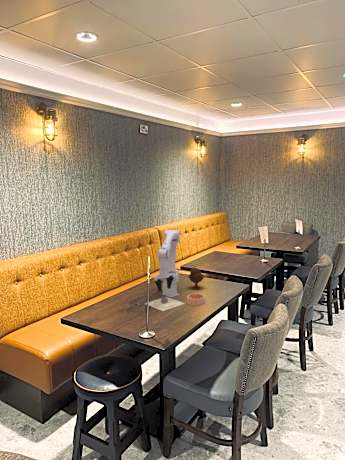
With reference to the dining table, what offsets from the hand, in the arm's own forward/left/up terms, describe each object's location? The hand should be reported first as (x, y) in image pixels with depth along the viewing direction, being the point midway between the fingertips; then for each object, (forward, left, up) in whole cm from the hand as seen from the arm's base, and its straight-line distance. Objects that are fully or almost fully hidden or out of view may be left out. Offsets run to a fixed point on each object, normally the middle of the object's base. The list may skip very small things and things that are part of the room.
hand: (164, 289), depth 227 cm
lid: (0, 0, -9) cm, 9 cm away
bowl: (+13, +15, -10) cm, 22 cm away
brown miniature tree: (-8, +37, -10) cm, 39 cm away
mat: (0, 0, -10) cm, 10 cm away
